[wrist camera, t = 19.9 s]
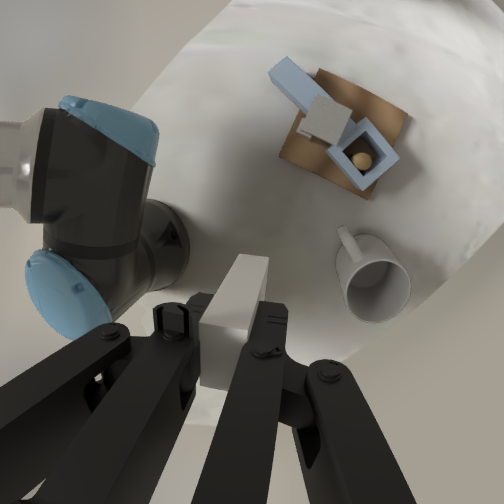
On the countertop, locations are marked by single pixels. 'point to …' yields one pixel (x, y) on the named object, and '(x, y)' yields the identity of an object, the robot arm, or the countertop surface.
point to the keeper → (324, 120)
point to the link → (303, 94)
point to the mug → (371, 277)
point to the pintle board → (358, 151)
